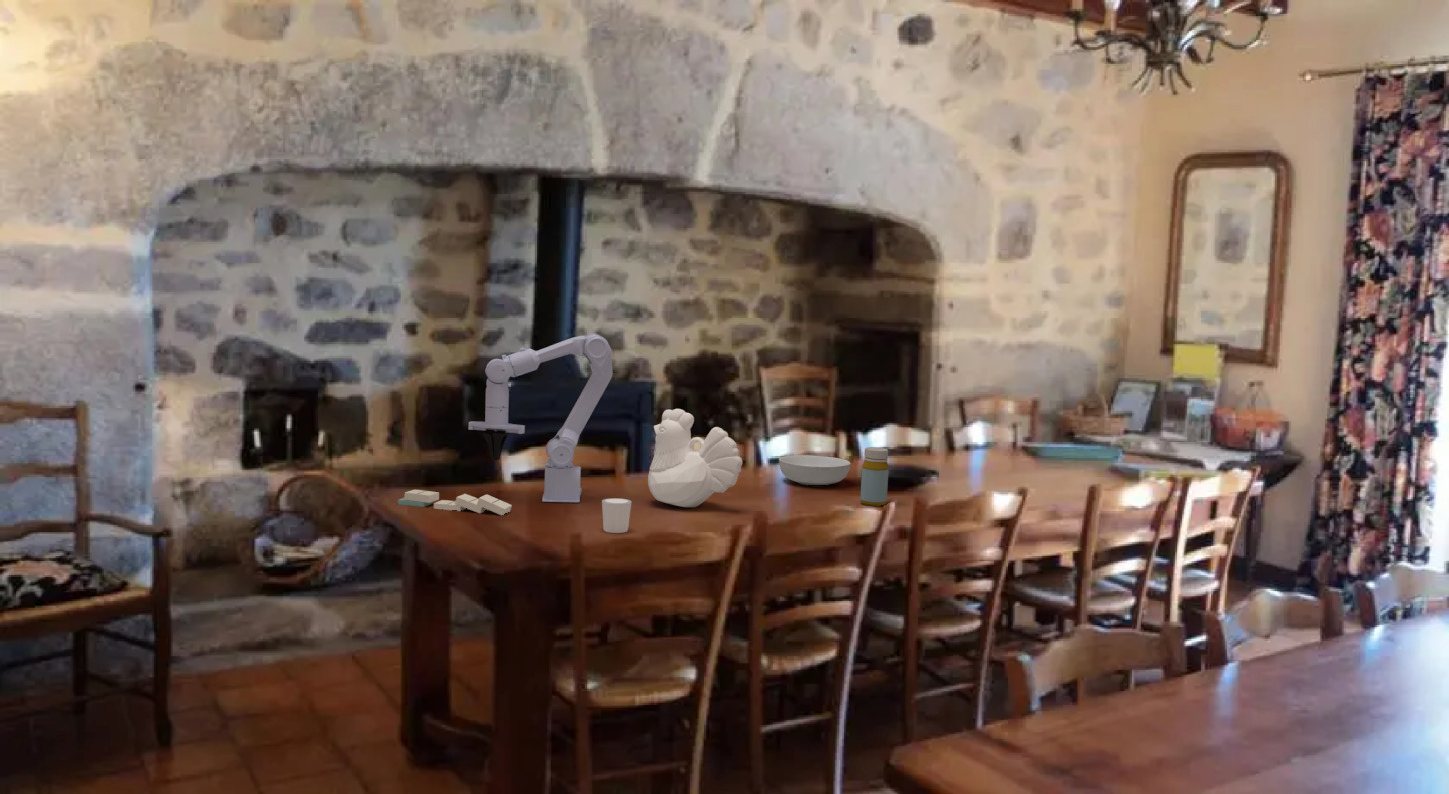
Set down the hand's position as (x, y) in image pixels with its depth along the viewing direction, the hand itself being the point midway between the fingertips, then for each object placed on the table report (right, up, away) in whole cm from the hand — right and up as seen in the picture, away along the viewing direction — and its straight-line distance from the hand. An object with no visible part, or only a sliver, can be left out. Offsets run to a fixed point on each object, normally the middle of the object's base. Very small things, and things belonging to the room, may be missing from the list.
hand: (495, 459), depth 303 cm
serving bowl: (+84, -10, +44) cm, 96 cm away
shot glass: (+33, -15, -26) cm, 44 cm away
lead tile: (+6, -12, -14) cm, 19 cm away
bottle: (+98, -13, +18) cm, 101 cm away
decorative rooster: (+50, -13, +3) cm, 51 cm away
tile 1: (-15, -11, -8) cm, 20 cm away
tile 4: (0, -11, -13) cm, 17 cm away
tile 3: (-6, -11, -11) cm, 17 cm away
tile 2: (-13, -9, -9) cm, 19 cm away
